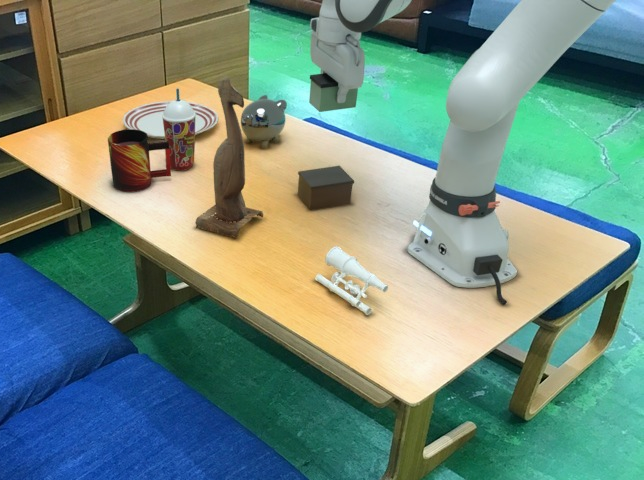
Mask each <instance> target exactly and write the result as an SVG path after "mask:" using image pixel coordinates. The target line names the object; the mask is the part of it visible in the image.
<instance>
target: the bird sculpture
mask: <svg viewBox="0 0 644 480" xmlns="http://www.w3.org/2000/svg"><path fill="white" fill-rule="evenodd" d="M217 92H218V93H217V94H218V95H219V98H220V103H221V107H222V112H223V115H224V119H225V127H226V129H225V130H226V138H225V139H224V140H223V141H222V142H221V144H220V145H219V146H218V147H217V149H216V151H215V155H214V159H213V165H212V166H213V190H214V191H213V192H214V202H215V203H214V205H212V206H211V207H209V208H208V209H207V210H206V211H205V212H202V214H200V215H198V216H197V217H196V219H195V226H196V227H195V228H196V229H197V228H199V229H202V230H205V231H209V232H211V233H215V234H217V235H222V236H227V237H231V238H234V239H238V236H239V234H240V231H241V230H242V228H243V227H244V226H245V225H246V224H247V223H249V222H250V221H251V220H252V219H253V217H254V218H255V217H256V216H257V217H260V218H264V212H263V210H259V209H255V208H250V207H247V206H246V202H245V199H244V196H243V193H242V191H243V189H244V188H245V185H246V165H245V163H246V162H245V146H244V145H245V143H244V138H243V133H242V128H241V124H240V122H239V118H238V115H237V112H236V110H235V108H234V106H239V107H240V108H241V109H243V108H244V107H245V100H244V96H243V94H242V93H241V92H240V91H238V90H237V89H236V88H235V87H234V85H233V83H232V80H231V79H230V77H223V78H221V80H220V81H219V83H218V87H217Z"/></svg>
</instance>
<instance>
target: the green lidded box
mask: <svg viewBox="0 0 644 480" xmlns="http://www.w3.org/2000/svg"><path fill="white" fill-rule="evenodd" d="M309 80H310V86H309V99H308V100H309V101H308V102H309V104H310V105H311V106H312V107H313V108H314V109H315V110H316V111H318V112H319V113H322V112H323V113H324V112H331V111H338V110H345V109H354V108H356V107H357V102H358V94H359V93H358V92H359V88H355V89H349V91H348V92H347V94H346V101H345V102H344V103H338V102H337V101H336V100H335V98H336V93H338V90H339V87H338V82H337V81H336V80H334V79H333V78H332V77H331V76H329V75H328V74H327V73H323V74H321V73H316V74H310V75H309Z"/></svg>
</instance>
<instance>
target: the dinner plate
mask: <svg viewBox="0 0 644 480" xmlns="http://www.w3.org/2000/svg"><path fill="white" fill-rule="evenodd" d="M171 101H172V100H171ZM171 101H170V100H168V101H167V100H165V101H156V102H149V103H146V104H142V105H139V106H137V107H134V108H131V109H130V110H129V111H127V112H126V113H125V114H124V115H123V118H122V123H123V125H124V126H125V127H126V128H127V129H134V130H141V131H143V132H145V133H147V135H148V138H152V139H159V140H165V133H164V126H163V118H162V114H163V113H164V110H165V108H166V106H167V105H168V104H169V103H170V102H171ZM187 102H188V103H189V104H190V105H191V106H192V108H193V110H194V112H195V113H196V116H195V136H196V135H199V134H201V133H204V132H206V131H208V130H210V129H212V128H214V127H215V126H216V125H217V124H218V122H219V115H218V113H217V112H216V111H215V110H214V109H212V107H211V108H210V107H209V106H206V105H203V104H200V103H196V102H192V101H191V102H190V101H187Z"/></svg>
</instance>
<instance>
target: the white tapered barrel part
mask: <svg viewBox="0 0 644 480" xmlns="http://www.w3.org/2000/svg"><path fill="white" fill-rule="evenodd" d="M324 262H325V264H326V265H327V266H328V267H332V268H334V269H336V270H338V271H335V272H333V274H332V276H331V279H330V280H329V279H328V278H326V277H324V276H323V274H321V273H317V274H316V276H315V278H314V281H315V282H317V283H320V284H321V285H322V286H323V287H326V288H327V289H328V290H329V291H330V292H331V293H335V295H338V296H339V297H341V298H342V299H344V300H345V301H346V302H348V303H349V304H350V305H351V306H352V307H355V308H357V309H358V310H360V311H361V312H362V313H363V314H365V315H366V316H368V315H371V314H372V311H373V308H372V307H371V306H368V305H367V304H365V303H363V302H362V301H361V300H360V299H361V298H362V297H363V298H364V299H366V298H368V295H367V294H366V293H365V292H366V291H367V289H368V288H369V287H370V286H371V287H373V288H376V289H378V290H380V291H381V292H383V293H386V292H387V291H388V290H389V285H387V284H385V283H384V282H382V281H381V279H379V278H378V277H377V275H376V274H375V273H372V272H370V271H369V270H368V269H367V268H364V267H363V265H361V263H359V262H358V259H357V257H356V256H353V255H352V256H351V255H350V254H349V253H347V252H345V251H344V250H342V248H341V247H340V246H337V245H336V246H334V247H333V246H332V247H331V248H330V249H329V250H328V251H327V253H326V254H325V259H324ZM345 276H346V277H347V276H351V277H353V278H356V279H358V280H359V281H361V282H363V283H365V284H364V285H363V287H362V288H361V286H360V285H359V284H356V283H355V284H354V281H353V280H351V279H350V280H347V281H346V280H345V279H344V278H345ZM340 283H341V284H343V285H344V287H343V289H342V288H341V287H339V285H340ZM347 291H350V292H349V293H348V292H347ZM355 295H357V296H356V297H354V296H355Z"/></svg>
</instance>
